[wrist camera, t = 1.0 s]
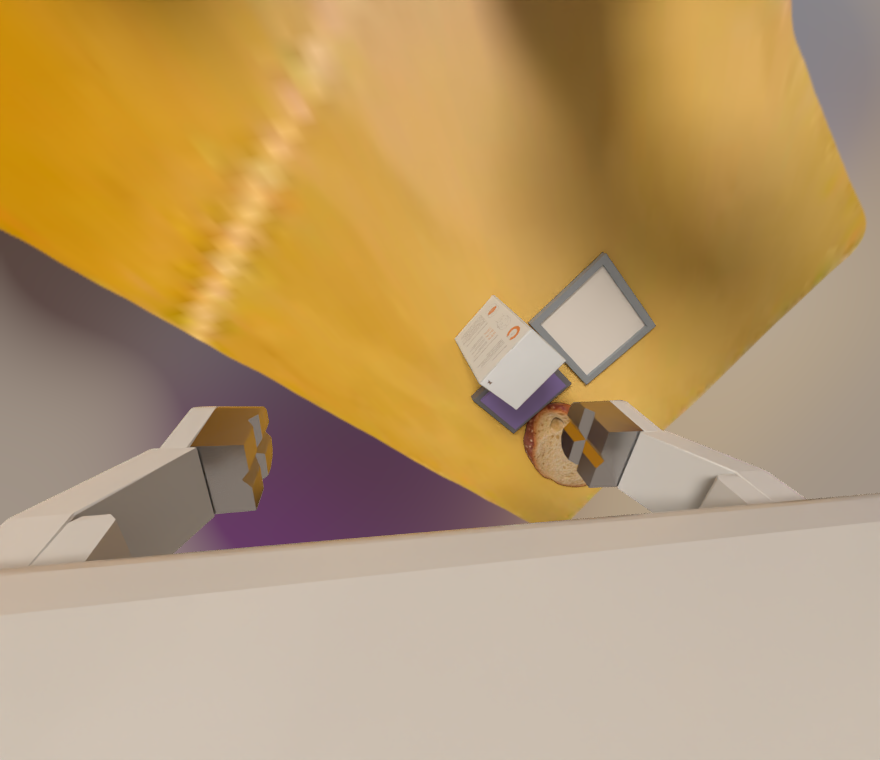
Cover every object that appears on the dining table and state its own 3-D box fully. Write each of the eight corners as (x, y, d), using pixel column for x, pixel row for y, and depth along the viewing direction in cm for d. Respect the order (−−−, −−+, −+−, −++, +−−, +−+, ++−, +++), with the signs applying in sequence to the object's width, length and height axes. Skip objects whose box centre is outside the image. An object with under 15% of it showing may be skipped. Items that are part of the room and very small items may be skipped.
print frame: (602, 252, 48) (606, 253, 47) (652, 323, 55) (655, 325, 54) (528, 322, 51) (530, 324, 51) (583, 382, 58) (586, 384, 57)
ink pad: (530, 341, 53) (535, 345, 51) (568, 379, 57) (573, 385, 56) (471, 396, 56) (473, 402, 54) (511, 429, 60) (514, 435, 59)
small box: (485, 362, 53) (516, 412, 42) (453, 338, 50) (477, 384, 39) (524, 320, 51) (568, 360, 40) (493, 292, 48) (531, 327, 37)
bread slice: (594, 480, 70) (605, 495, 67) (507, 482, 67) (514, 498, 63) (629, 401, 62) (643, 414, 59) (531, 398, 58) (541, 411, 55)
